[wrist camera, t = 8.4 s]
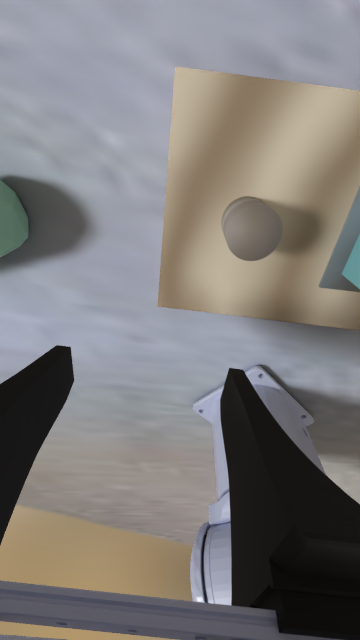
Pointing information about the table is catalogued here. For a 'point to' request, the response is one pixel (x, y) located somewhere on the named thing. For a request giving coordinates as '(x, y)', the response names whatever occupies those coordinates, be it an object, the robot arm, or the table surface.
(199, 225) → the post board
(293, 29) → the table surface
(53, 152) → the table surface
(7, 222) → the pale green rod
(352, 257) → the teal slotted block
